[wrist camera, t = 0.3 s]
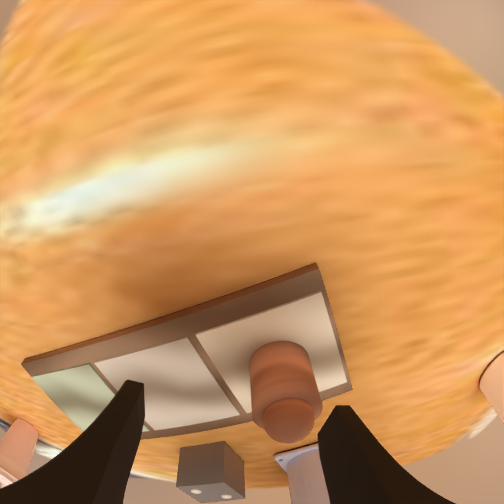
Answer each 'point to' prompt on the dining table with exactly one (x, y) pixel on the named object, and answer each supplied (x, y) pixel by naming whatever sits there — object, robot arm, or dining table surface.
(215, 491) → the die
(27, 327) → the dining table surface
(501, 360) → the can
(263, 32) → the dining table surface
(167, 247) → the dining table surface
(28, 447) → the smoothie
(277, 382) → the pawn
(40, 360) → the game board
